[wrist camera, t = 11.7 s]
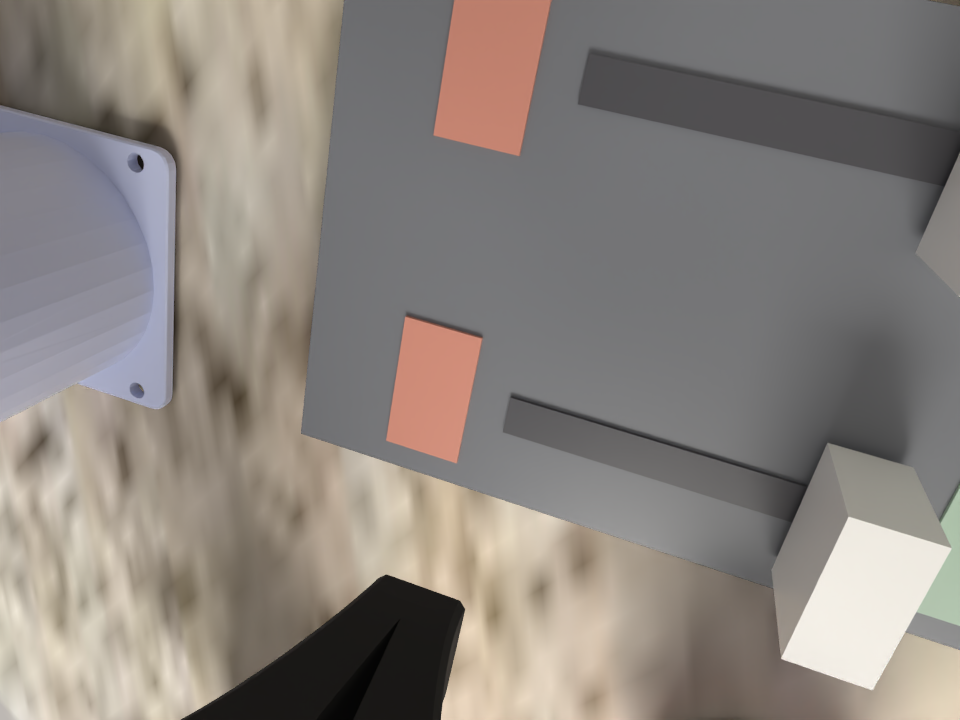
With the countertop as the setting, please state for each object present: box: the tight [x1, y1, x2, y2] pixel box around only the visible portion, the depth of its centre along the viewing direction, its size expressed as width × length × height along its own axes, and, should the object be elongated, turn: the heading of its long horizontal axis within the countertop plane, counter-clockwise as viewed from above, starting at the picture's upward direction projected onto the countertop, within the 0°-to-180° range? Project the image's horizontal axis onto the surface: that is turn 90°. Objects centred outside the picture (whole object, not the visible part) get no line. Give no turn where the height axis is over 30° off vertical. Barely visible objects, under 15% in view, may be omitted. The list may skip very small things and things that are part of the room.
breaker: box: [771, 443, 952, 690], centre depth 16 cm, size 2×4×3 cm, turn 169°
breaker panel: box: [301, 0, 960, 650], centre depth 17 cm, size 20×13×2 cm, turn 79°
